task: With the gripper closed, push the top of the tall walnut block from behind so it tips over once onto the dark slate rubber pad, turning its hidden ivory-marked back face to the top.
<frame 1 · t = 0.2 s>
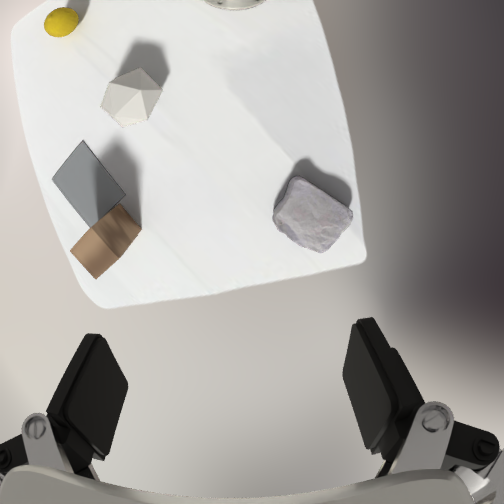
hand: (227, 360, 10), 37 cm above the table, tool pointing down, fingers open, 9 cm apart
walnut block: (119, 226, 46), on the table
die: (139, 99, 37), on the table
stone block: (308, 214, 47), on the table
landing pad: (86, 186, 42), on the table
lemon: (73, 27, 29), on the table
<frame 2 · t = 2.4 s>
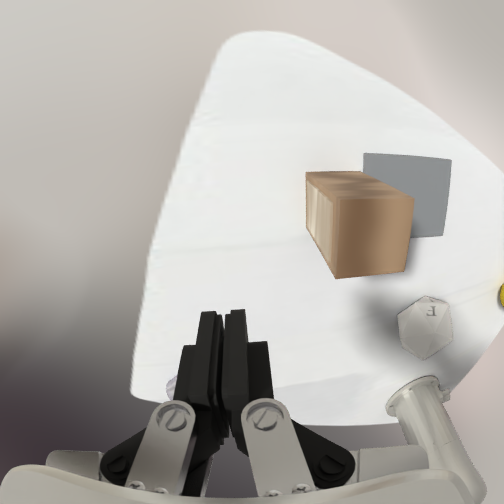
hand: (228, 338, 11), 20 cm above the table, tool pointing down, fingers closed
walnut block: (333, 199, 29), on the table
die: (412, 310, 37), on the table
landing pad: (409, 197, 29), on the table
lemon: (501, 285, 36), on the table
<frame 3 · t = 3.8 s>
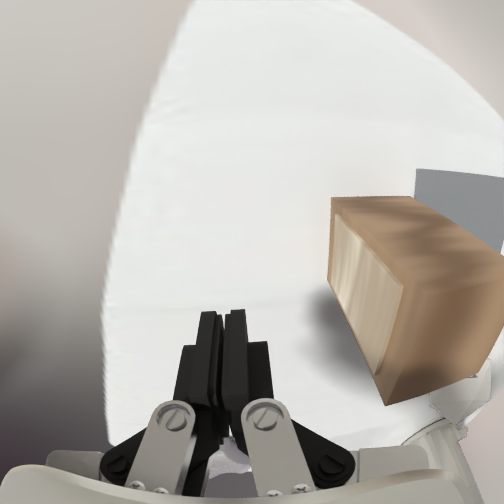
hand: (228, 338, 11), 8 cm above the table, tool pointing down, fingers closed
walnut block: (369, 238, 19), on the table
die: (445, 361, 26), on the table
stone block: (198, 444, 31), on the table
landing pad: (465, 232, 19), on the table
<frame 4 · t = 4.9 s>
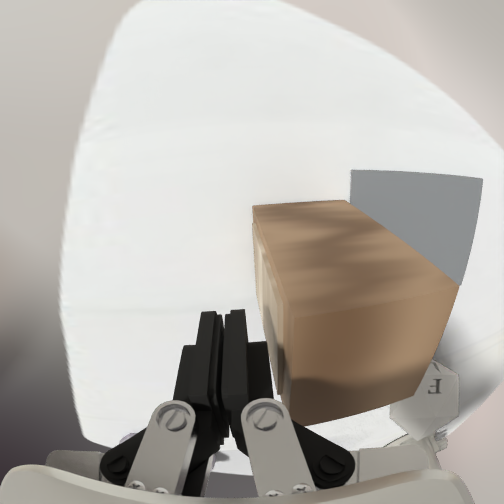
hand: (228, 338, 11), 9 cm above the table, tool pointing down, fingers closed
walnut block: (300, 246, 19), on the table, touching gripper
die: (411, 373, 26), on the table
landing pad: (420, 237, 19), on the table
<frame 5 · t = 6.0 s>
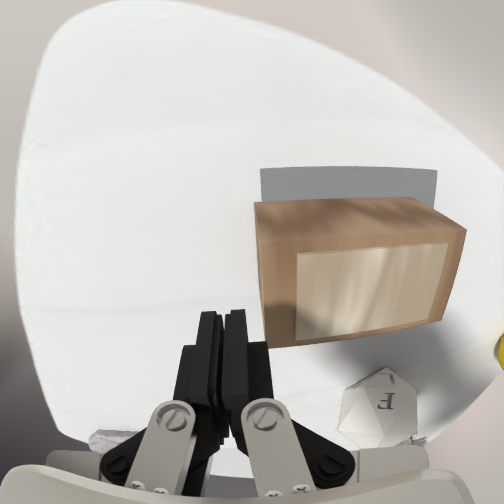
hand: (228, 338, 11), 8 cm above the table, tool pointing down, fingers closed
walnut block: (259, 270, 16), point 3 cm above the table, tilted 90°, touching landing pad
die: (368, 383, 26), on the table
stone block: (130, 440, 32), on the table
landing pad: (355, 239, 19), on the table
lemon: (501, 335, 26), on the table
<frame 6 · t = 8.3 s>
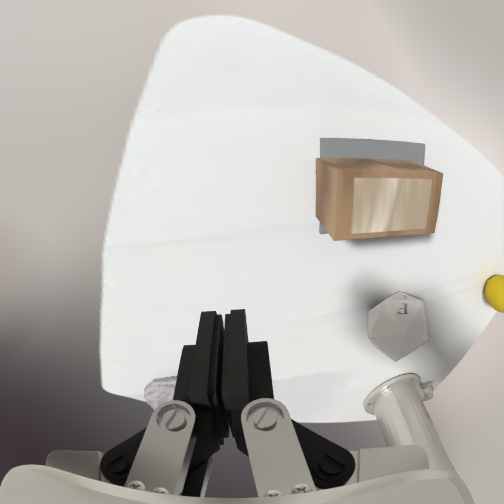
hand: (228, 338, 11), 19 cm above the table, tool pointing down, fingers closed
walnut block: (325, 196, 25), point 3 cm above the table, tilted 90°, touching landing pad
die: (385, 306, 36), on the table
stone block: (183, 387, 42), on the table
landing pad: (375, 185, 28), on the table
lemon: (486, 280, 36), on the table
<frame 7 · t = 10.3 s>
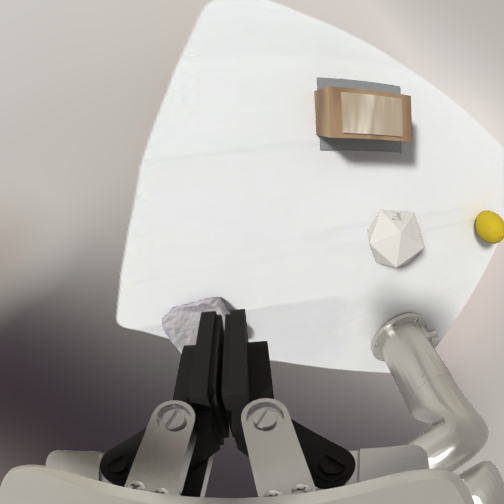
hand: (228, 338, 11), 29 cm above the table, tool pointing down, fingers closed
walnut block: (321, 112, 30), point 3 cm above the table, tilted 90°, touching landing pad
die: (383, 228, 41), on the table
stone block: (200, 318, 47), on the table
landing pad: (362, 115, 33), on the table
lemon: (476, 218, 41), on the table
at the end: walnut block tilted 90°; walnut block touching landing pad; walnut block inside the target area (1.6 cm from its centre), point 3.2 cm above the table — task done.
